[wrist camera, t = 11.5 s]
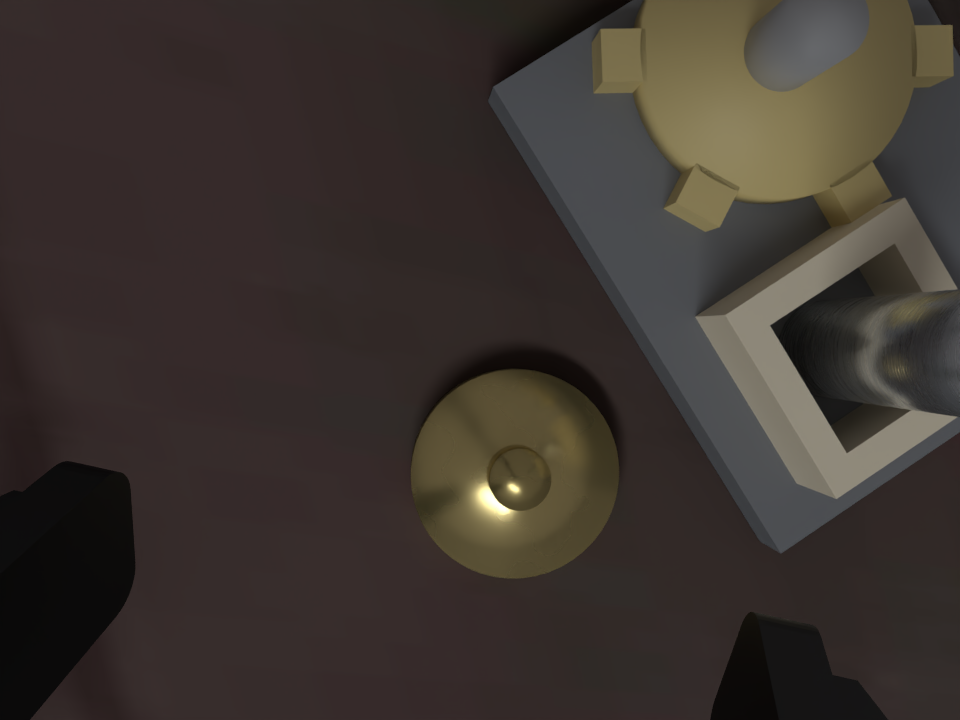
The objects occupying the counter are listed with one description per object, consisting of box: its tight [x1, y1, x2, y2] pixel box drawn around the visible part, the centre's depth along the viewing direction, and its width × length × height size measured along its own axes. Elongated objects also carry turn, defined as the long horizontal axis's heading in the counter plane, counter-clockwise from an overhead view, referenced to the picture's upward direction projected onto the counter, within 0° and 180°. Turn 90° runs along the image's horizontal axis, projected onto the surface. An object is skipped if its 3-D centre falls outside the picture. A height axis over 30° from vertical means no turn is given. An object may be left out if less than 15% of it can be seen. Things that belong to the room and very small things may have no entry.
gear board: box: [488, 0, 960, 553], centre depth 25 cm, size 20×14×6 cm
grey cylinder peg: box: [779, 289, 960, 417], centre depth 21 cm, size 3×3×11 cm
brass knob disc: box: [411, 368, 619, 578], centre depth 27 cm, size 7×7×2 cm
